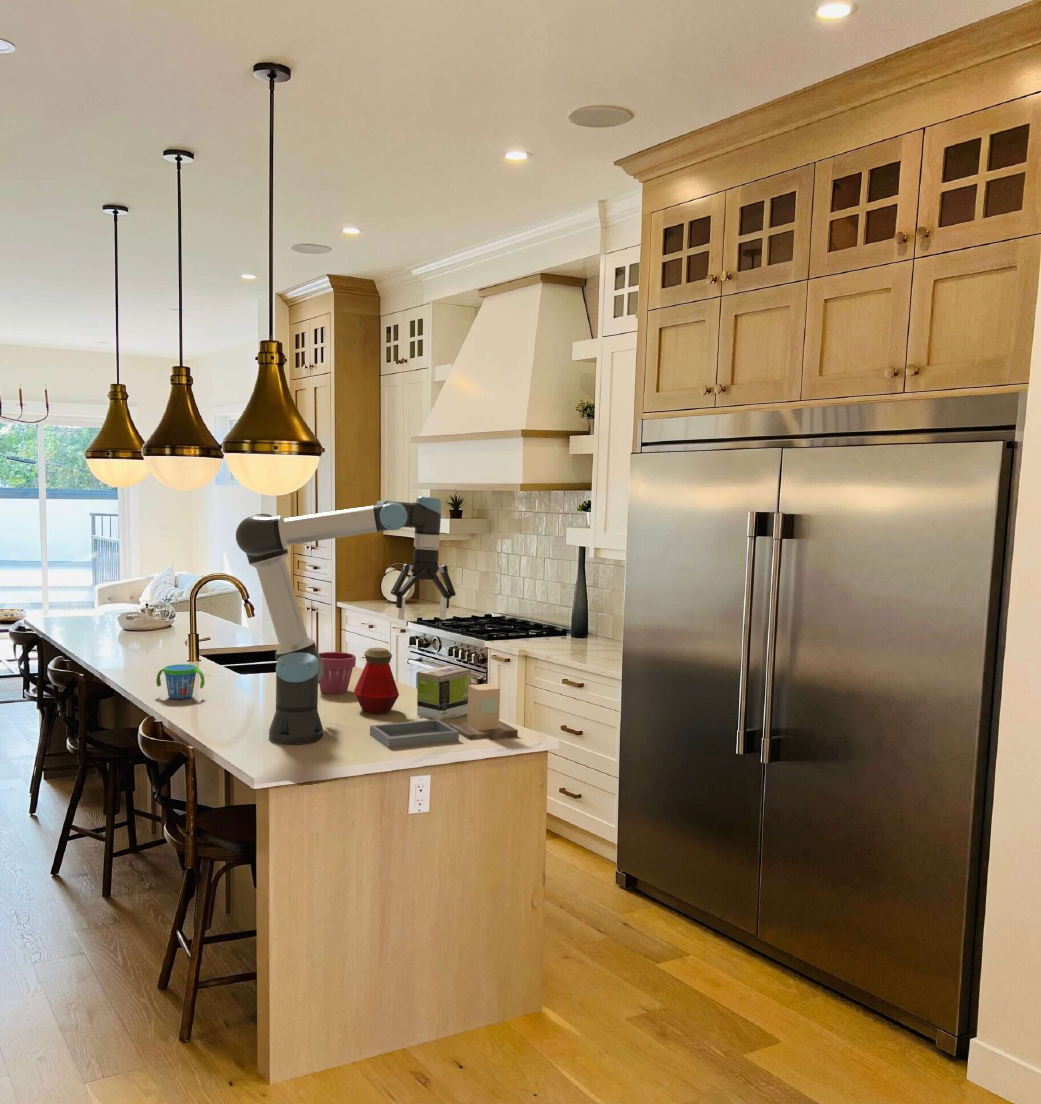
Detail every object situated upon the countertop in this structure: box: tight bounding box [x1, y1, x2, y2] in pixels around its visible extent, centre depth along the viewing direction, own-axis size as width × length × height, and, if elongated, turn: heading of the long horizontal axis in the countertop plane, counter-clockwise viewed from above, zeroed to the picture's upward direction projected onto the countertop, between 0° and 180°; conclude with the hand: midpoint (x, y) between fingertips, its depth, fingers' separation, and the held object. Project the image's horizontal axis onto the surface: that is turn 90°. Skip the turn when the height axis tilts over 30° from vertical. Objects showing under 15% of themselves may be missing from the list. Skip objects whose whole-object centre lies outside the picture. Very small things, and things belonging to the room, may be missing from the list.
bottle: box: [353, 647, 400, 715], centre depth 309 cm, size 16×14×20 cm
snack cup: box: [155, 663, 205, 700], centre depth 318 cm, size 16×10×10 cm
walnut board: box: [448, 720, 519, 740], centre depth 287 cm, size 16×14×2 cm
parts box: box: [466, 683, 501, 731], centre depth 286 cm, size 7×7×12 cm
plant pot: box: [318, 651, 357, 695], centre depth 335 cm, size 14×14×13 cm
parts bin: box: [369, 718, 460, 750], centre depth 277 cm, size 21×15×4 cm
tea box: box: [416, 665, 472, 721], centre depth 307 cm, size 15×10×15 cm, turn 141°
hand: (422, 619), depth 289 cm, fingers open, 13 cm apart
